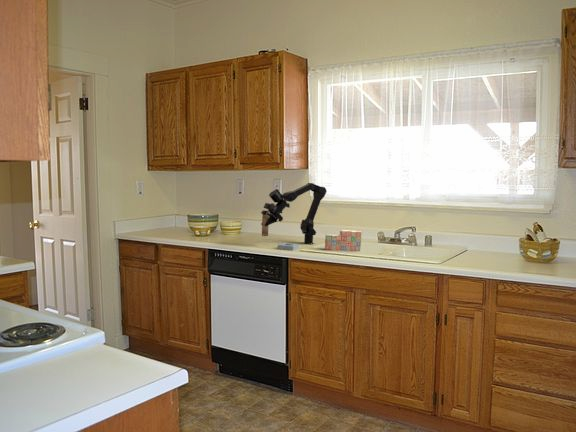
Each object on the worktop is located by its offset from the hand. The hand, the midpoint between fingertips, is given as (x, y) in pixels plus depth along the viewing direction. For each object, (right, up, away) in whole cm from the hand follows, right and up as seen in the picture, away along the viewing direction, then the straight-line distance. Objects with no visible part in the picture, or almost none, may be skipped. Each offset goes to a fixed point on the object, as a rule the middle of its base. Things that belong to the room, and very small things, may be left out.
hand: (263, 225), depth 324 cm
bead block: (+16, -14, -7) cm, 22 cm away
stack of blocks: (+49, -16, -2) cm, 52 cm away
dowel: (+1, -7, +1) cm, 7 cm away
